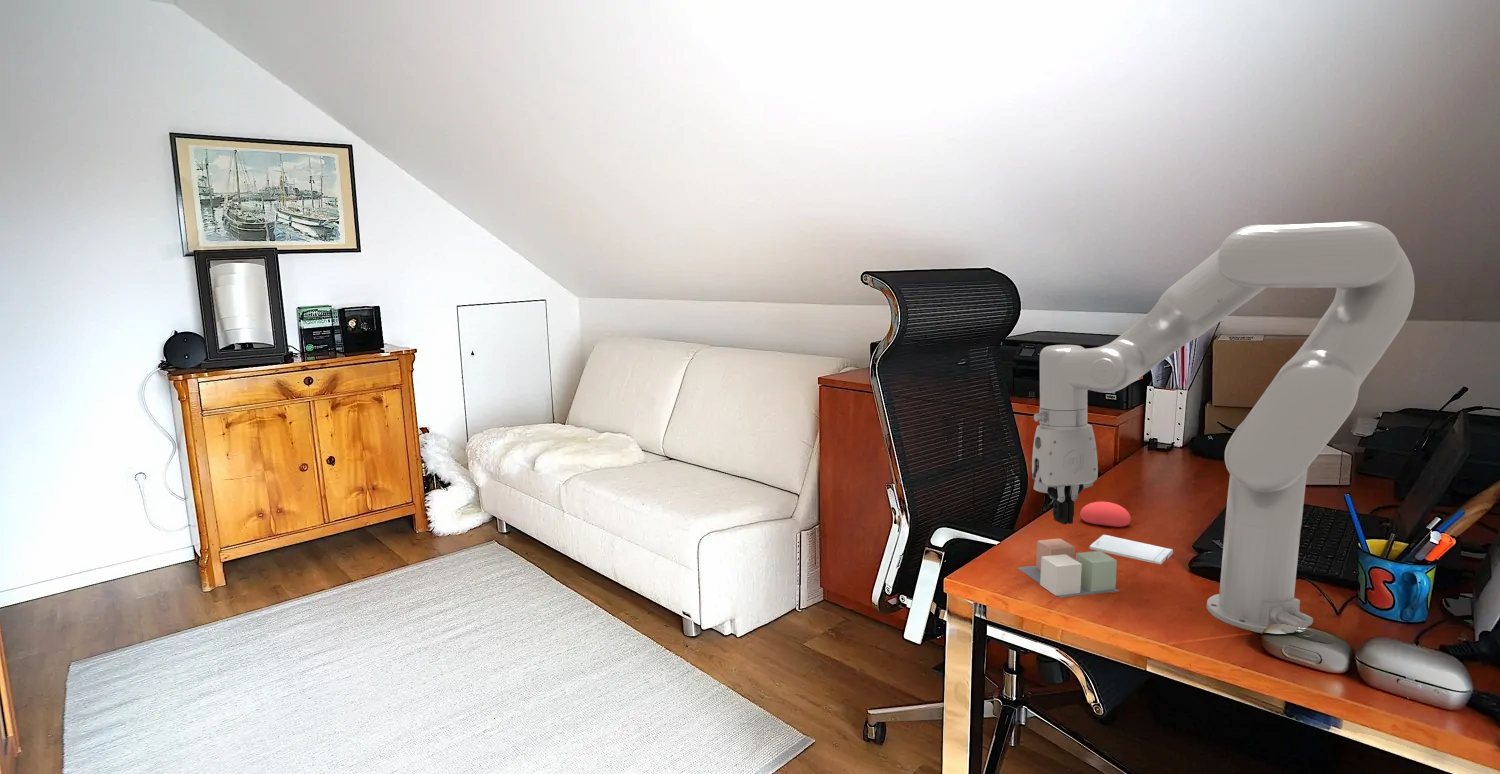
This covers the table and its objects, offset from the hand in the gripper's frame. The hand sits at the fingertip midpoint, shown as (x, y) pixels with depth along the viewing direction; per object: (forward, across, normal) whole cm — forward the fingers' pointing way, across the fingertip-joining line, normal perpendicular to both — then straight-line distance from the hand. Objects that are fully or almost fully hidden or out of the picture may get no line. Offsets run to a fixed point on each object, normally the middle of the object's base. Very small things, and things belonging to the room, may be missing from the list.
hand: (1063, 521), depth 136 cm
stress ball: (+10, +24, +22) cm, 34 cm away
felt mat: (+10, -1, -2) cm, 10 cm away
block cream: (+9, -4, -6) cm, 12 cm away
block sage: (+10, +2, -6) cm, 11 cm away
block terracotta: (+9, -1, +1) cm, 9 cm away
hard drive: (+11, +18, +7) cm, 22 cm away
